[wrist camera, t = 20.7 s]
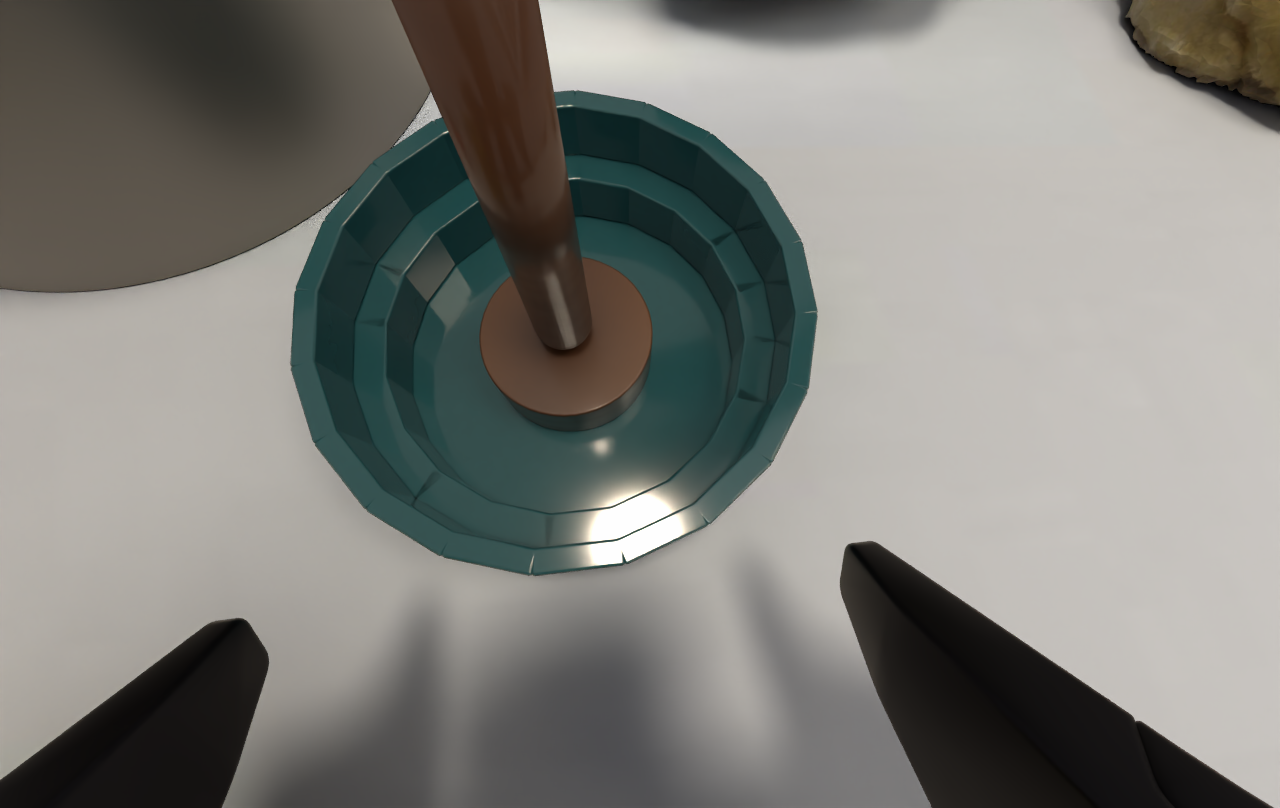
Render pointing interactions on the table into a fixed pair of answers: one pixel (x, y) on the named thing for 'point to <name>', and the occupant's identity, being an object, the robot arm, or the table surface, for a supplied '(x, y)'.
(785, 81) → the table surface
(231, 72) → the container
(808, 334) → the bowl
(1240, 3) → the pastry
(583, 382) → the rounded top peg stand
